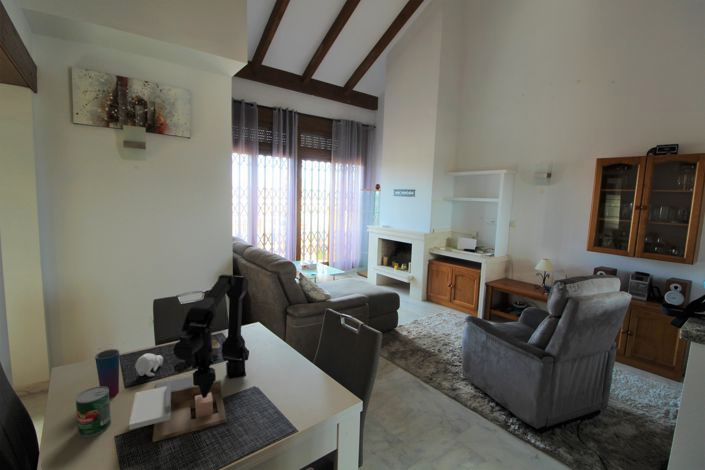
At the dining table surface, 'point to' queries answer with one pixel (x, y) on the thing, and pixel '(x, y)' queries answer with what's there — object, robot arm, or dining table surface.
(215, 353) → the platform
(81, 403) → the canned tomato
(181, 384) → the mat
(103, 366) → the cup
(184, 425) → the brown open box
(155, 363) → the white animal figurine
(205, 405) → the block
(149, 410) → the cover
